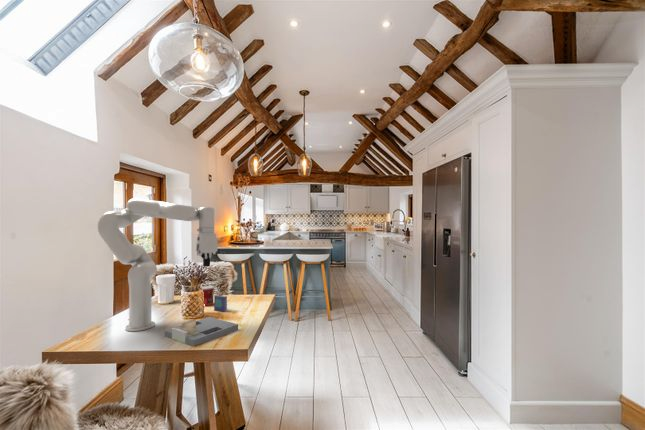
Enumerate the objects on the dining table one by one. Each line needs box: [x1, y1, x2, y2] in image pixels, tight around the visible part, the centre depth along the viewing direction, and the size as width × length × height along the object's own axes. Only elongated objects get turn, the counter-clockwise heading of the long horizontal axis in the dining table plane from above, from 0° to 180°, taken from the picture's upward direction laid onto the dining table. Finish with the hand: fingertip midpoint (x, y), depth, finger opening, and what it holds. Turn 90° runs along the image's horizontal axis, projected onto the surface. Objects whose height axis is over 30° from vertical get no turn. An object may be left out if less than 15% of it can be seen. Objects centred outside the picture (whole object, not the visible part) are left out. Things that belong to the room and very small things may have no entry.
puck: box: [181, 319, 197, 335], centre depth 140 cm, size 6×6×5 cm
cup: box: [155, 273, 177, 305], centre depth 202 cm, size 11×11×17 cm
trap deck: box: [163, 316, 239, 347], centre depth 147 cm, size 22×24×4 cm
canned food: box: [201, 285, 214, 307], centre depth 196 cm, size 8×8×11 cm
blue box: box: [213, 292, 228, 313], centre depth 183 cm, size 9×3×11 cm, turn 63°
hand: (206, 266), depth 162 cm, fingers closed
